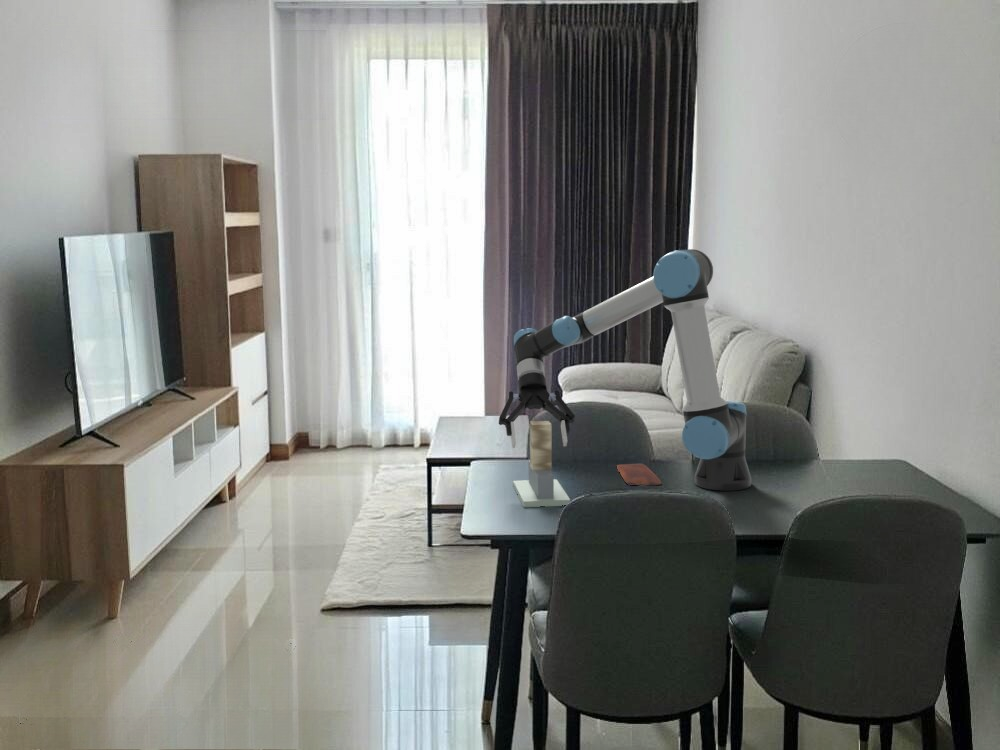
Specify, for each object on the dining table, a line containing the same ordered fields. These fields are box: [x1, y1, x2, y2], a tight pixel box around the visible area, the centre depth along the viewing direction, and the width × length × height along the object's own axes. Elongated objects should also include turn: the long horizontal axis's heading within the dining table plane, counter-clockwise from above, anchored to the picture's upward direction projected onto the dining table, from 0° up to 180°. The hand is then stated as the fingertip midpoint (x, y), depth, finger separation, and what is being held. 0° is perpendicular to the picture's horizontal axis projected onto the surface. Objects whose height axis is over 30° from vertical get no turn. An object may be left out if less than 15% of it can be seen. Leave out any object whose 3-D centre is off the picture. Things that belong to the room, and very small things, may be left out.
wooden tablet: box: [616, 462, 662, 486], centre depth 312 cm, size 27×10×2 cm, turn 2°
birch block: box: [529, 420, 553, 471], centre depth 287 cm, size 5×5×12 cm
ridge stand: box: [512, 459, 571, 508], centre depth 289 cm, size 22×12×8 cm, turn 6°
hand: (539, 444), depth 287 cm, fingers open, 13 cm apart
